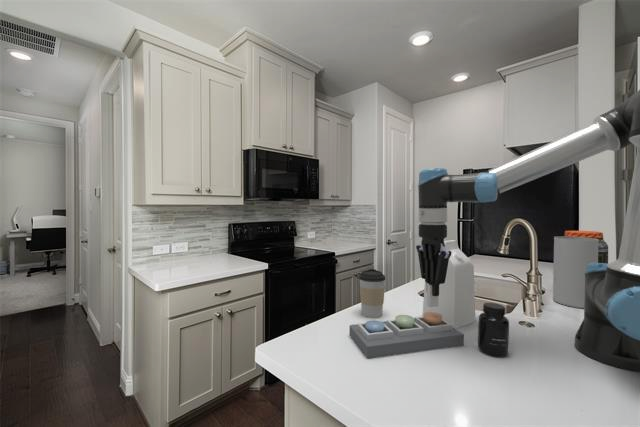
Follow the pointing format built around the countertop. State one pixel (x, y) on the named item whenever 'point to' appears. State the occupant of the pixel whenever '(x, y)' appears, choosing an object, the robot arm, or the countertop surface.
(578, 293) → the cylinder vase
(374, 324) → the button slate
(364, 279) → the coffee cup
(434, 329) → the panel
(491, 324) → the supplement bottle
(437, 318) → the button terracotta
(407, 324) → the button sage
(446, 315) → the milk
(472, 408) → the countertop surface
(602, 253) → the supplement tub
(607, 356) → the robot arm
